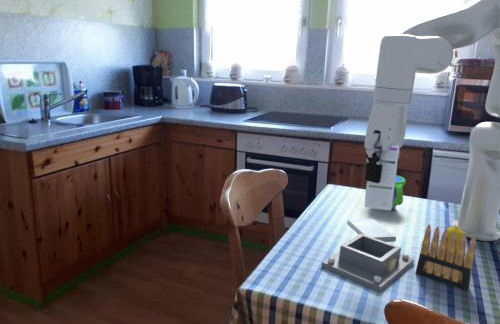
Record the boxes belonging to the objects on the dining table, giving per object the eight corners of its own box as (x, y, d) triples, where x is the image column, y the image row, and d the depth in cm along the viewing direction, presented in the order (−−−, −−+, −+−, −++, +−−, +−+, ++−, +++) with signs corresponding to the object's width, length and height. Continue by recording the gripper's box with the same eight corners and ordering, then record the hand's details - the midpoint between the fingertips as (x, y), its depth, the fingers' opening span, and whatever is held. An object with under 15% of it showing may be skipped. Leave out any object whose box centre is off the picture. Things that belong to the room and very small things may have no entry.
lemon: (463, 255, 103) (469, 225, 101) (461, 264, 99) (468, 233, 97) (439, 249, 106) (445, 220, 104) (436, 257, 101) (442, 227, 99)
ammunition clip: (415, 273, 93) (423, 224, 90) (417, 270, 94) (426, 221, 91) (467, 291, 87) (478, 239, 84) (469, 288, 88) (480, 236, 85)
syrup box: (391, 211, 88) (401, 145, 85) (363, 207, 90) (371, 142, 86) (390, 202, 94) (399, 140, 90) (363, 199, 95) (371, 137, 91)
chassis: (359, 243, 106) (361, 226, 105) (413, 263, 97) (416, 245, 96) (321, 266, 93) (323, 247, 92) (379, 292, 84) (383, 271, 83)
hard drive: (396, 236, 109) (373, 218, 121) (368, 237, 108) (347, 219, 119) (395, 242, 110) (372, 223, 122) (367, 243, 108) (346, 224, 120)
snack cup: (410, 216, 128) (416, 184, 125) (378, 215, 126) (383, 184, 124) (387, 198, 143) (392, 170, 140) (359, 198, 141) (362, 170, 139)
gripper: (392, 93, 94) (382, 168, 99) (355, 96, 82) (345, 181, 86) (425, 97, 90) (413, 175, 94) (392, 100, 77) (379, 190, 81)
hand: (381, 177), depth 90 cm, fingers closed on syrup box, 7 cm apart
